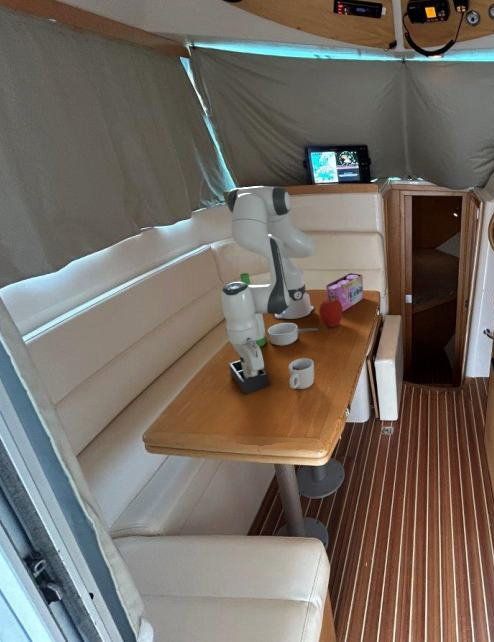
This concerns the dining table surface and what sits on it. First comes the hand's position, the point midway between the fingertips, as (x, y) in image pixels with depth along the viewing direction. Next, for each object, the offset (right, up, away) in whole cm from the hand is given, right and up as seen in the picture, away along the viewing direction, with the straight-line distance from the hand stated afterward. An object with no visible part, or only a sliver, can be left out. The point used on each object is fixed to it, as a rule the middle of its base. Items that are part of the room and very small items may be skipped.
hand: (250, 370), depth 119 cm
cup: (+17, -6, +1) cm, 18 cm away
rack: (-2, -4, +4) cm, 6 cm away
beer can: (0, -4, +2) cm, 5 cm away
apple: (+15, +11, +45) cm, 49 cm away
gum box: (+16, +20, +69) cm, 74 cm away
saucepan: (+3, +6, +31) cm, 32 cm away
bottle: (-11, +5, +28) cm, 30 cm away
